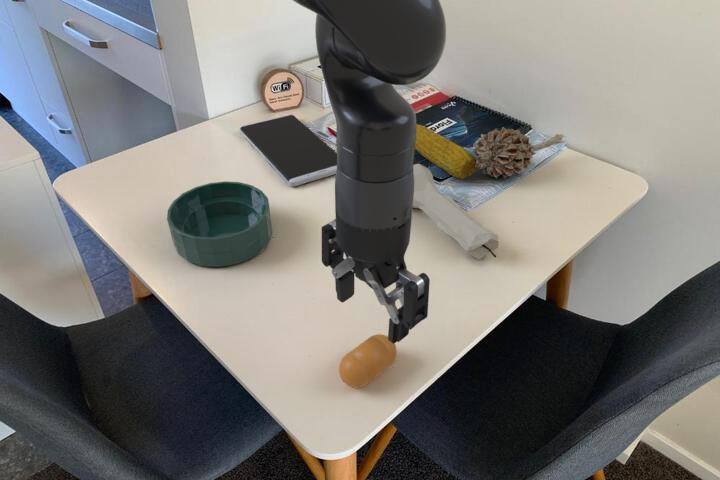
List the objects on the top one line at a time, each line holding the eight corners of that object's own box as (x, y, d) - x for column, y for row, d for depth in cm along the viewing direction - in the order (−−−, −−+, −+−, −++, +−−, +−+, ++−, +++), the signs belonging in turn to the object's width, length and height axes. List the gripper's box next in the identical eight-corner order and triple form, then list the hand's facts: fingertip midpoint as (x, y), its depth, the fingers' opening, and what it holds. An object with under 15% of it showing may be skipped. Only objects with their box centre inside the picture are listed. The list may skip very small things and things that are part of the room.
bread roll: (355, 401, 63) (355, 379, 61) (331, 379, 66) (331, 357, 63) (402, 363, 68) (405, 341, 65) (378, 344, 70) (380, 321, 68)
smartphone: (292, 119, 123) (292, 112, 122) (351, 171, 105) (351, 163, 104) (239, 132, 117) (238, 125, 116) (291, 189, 100) (290, 181, 98)
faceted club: (419, 182, 101) (515, 257, 85) (384, 204, 98) (476, 286, 83) (414, 146, 94) (518, 221, 79) (376, 170, 92) (475, 252, 76)
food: (477, 178, 103) (482, 152, 100) (456, 186, 101) (460, 160, 97) (413, 136, 117) (415, 111, 113) (393, 142, 115) (394, 117, 111)
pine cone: (489, 196, 99) (498, 149, 93) (457, 173, 105) (463, 127, 99) (570, 166, 108) (583, 122, 101) (536, 146, 114) (546, 103, 108)
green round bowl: (173, 275, 80) (164, 245, 77) (176, 215, 93) (169, 187, 89) (277, 261, 83) (273, 231, 80) (267, 204, 96) (264, 176, 92)
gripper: (297, 187, 53) (306, 301, 63) (400, 255, 45) (392, 372, 55) (352, 161, 57) (352, 272, 67) (456, 219, 49) (438, 335, 59)
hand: (370, 317), depth 61 cm, fingers open, 8 cm apart
